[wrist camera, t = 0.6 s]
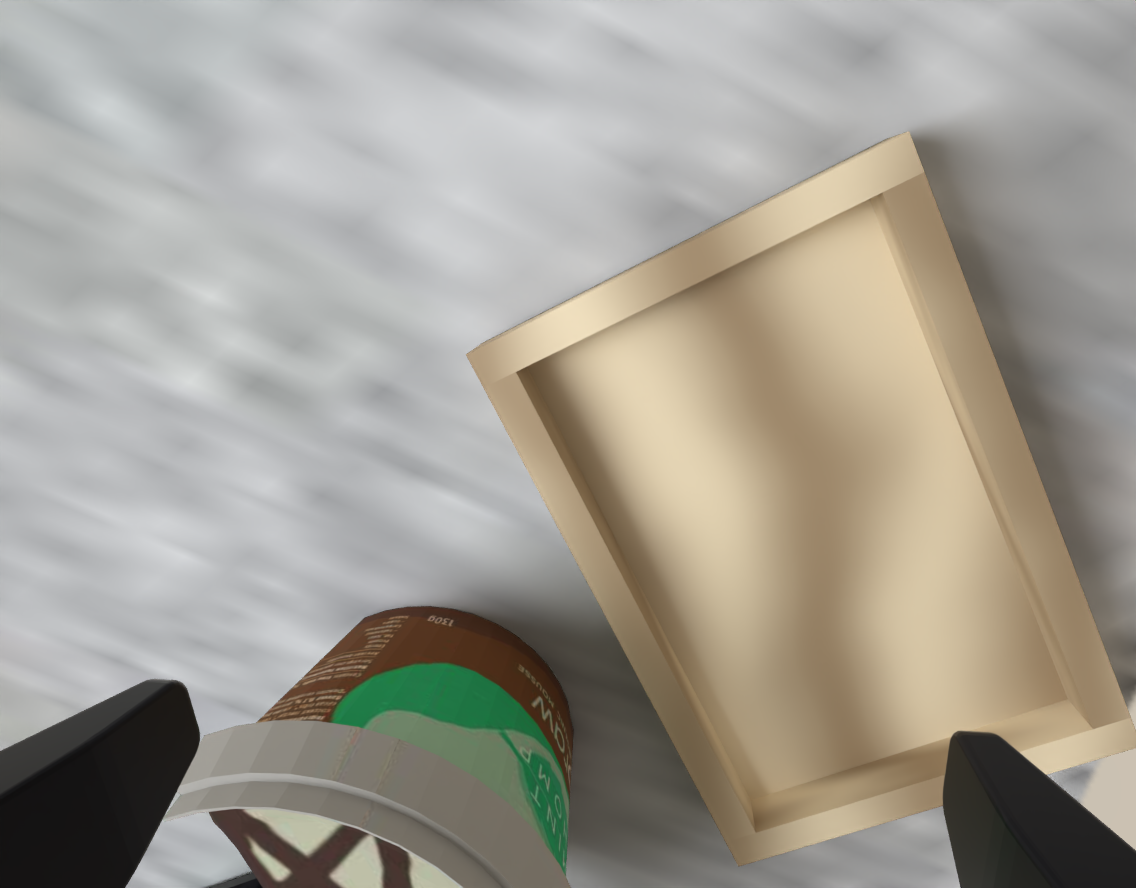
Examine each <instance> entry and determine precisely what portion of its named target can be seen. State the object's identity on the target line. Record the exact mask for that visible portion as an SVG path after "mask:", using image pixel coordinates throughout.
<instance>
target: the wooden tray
mask: <svg viewBox="0 0 1136 888" xmlns="http://www.w3.org/2000/svg"><path fill="white" fill-rule="evenodd" d="M466 356H467V358H468V360H469V361H470V363H471V365H472V367H473V369H474V371H475V373H476V375H477V376H478V378H479V380H480V382H481V384H482V386H483V388H484V390H485V391H486V393H487V395H488V397H489V399H490V401H491V403H492V405H493V406H494V408H495V410H496V412H497V414H498V416H499V418H500V420H501V421H502V423H503V425H504V427H505V429H506V431H507V433H508V435H509V436H510V438H511V440H512V442H513V444H514V446H515V448H516V450H517V451H518V453H519V455H520V457H521V459H522V461H523V463H524V465H525V467H526V468H527V470H528V472H529V474H530V476H531V478H532V480H533V482H534V483H535V485H536V487H537V489H538V491H539V493H540V495H541V497H542V498H543V500H544V502H545V504H546V506H547V508H548V510H549V512H550V513H551V515H552V517H553V519H554V521H555V523H556V525H557V527H558V528H559V530H560V532H561V534H562V536H563V538H564V540H565V542H566V543H567V545H568V547H569V549H570V551H571V553H572V555H573V557H574V558H575V560H576V562H577V564H578V566H579V568H580V570H581V572H582V574H583V575H584V577H585V579H586V581H587V583H588V585H589V587H590V589H591V590H592V592H593V594H594V596H595V598H596V600H597V602H598V604H599V605H600V607H601V609H602V611H603V613H604V615H605V617H606V619H607V620H608V622H609V624H610V626H611V628H612V630H613V632H614V634H615V635H616V637H617V639H618V641H619V643H620V645H621V647H622V649H623V650H624V652H625V654H626V656H627V658H628V660H629V662H630V664H631V665H632V667H633V669H634V671H635V673H636V675H637V677H638V679H639V681H640V682H641V684H642V686H643V688H644V690H645V692H646V694H647V696H648V697H649V699H650V701H651V703H652V705H653V707H654V709H655V711H656V712H657V714H658V716H659V718H660V720H661V722H662V724H663V726H664V727H665V729H666V731H667V733H668V735H669V737H670V739H671V741H672V742H673V744H674V746H675V748H676V750H677V752H678V754H679V756H680V757H681V759H682V761H683V763H684V765H685V767H686V769H687V771H688V772H689V774H690V776H691V778H692V780H693V782H694V784H695V786H696V788H697V789H698V791H699V793H700V795H701V797H702V799H703V801H704V803H705V804H706V806H707V808H708V810H709V812H710V814H711V816H712V818H713V819H714V821H715V823H716V825H717V827H718V829H719V831H720V833H721V834H722V836H723V838H724V840H725V842H726V844H727V846H728V848H729V849H730V851H731V853H732V855H733V857H734V859H735V861H736V863H737V864H738V866H742V865H746V864H749V863H752V862H756V861H759V860H762V859H766V858H769V857H772V856H776V855H779V854H783V853H786V852H789V851H793V850H796V849H799V848H803V847H806V846H809V845H813V844H816V843H819V842H823V841H826V840H829V839H833V838H836V837H839V836H843V835H846V834H850V833H853V832H856V831H860V830H863V829H866V828H870V827H873V826H876V825H880V824H883V823H886V822H890V821H893V820H896V819H900V818H903V817H907V816H910V815H913V814H917V813H920V812H923V811H927V810H930V809H933V808H937V807H940V806H943V784H944V777H945V770H946V763H947V756H948V749H949V743H950V739H951V737H952V735H953V733H955V732H957V731H960V730H962V731H978V732H991V733H995V734H997V735H999V736H1000V737H1002V738H1003V739H1004V740H1005V741H1007V742H1008V743H1009V744H1010V745H1011V746H1013V747H1014V748H1015V749H1016V750H1017V751H1018V752H1020V753H1021V754H1022V755H1023V756H1024V757H1026V758H1027V759H1028V760H1029V761H1030V762H1031V763H1033V764H1034V765H1035V766H1036V767H1037V768H1039V769H1040V770H1041V771H1042V772H1043V773H1045V774H1046V775H1047V774H1051V773H1054V772H1057V771H1061V770H1064V769H1067V768H1071V767H1074V766H1077V765H1081V764H1084V763H1087V762H1091V761H1094V760H1098V759H1101V758H1104V757H1108V756H1111V755H1114V754H1118V753H1121V752H1124V751H1128V750H1131V749H1134V748H1136V730H1135V727H1134V724H1133V722H1132V719H1131V716H1130V714H1129V711H1128V709H1127V706H1126V703H1125V701H1124V698H1123V695H1122V693H1121V690H1120V687H1119V685H1118V682H1117V679H1116V677H1115V674H1114V672H1113V669H1112V666H1111V664H1110V661H1109V658H1108V656H1107V653H1106V650H1105V648H1104V645H1103V642H1102V640H1101V637H1100V635H1099V632H1098V629H1097V627H1096V624H1095V621H1094V619H1093V616H1092V613H1091V611H1090V608H1089V605H1088V603H1087V600H1086V598H1085V595H1084V592H1083V590H1082V587H1081V584H1080V582H1079V579H1078V576H1077V574H1076V571H1075V568H1074V566H1073V563H1072V561H1071V558H1070V555H1069V553H1068V550H1067V547H1066V545H1065V542H1064V539H1063V537H1062V534H1061V531H1060V529H1059V526H1058V524H1057V521H1056V518H1055V516H1054V513H1053V510H1052V508H1051V505H1050V502H1049V500H1048V497H1047V494H1046V492H1045V489H1044V487H1043V484H1042V481H1041V479H1040V476H1039V473H1038V471H1037V468H1036V465H1035V463H1034V460H1033V457H1032V455H1031V452H1030V450H1029V447H1028V444H1027V442H1026V439H1025V436H1024V434H1023V431H1022V428H1021V426H1020V423H1019V420H1018V418H1017V415H1016V412H1015V410H1014V407H1013V405H1012V402H1011V399H1010V397H1009V394H1008V391H1007V389H1006V386H1005V383H1004V381H1003V378H1002V375H1001V373H1000V370H999V368H998V365H997V362H996V360H995V357H994V354H993V352H992V349H991V346H990V344H989V341H988V338H987V336H986V333H985V331H984V328H983V325H982V323H981V320H980V317H979V315H978V312H977V309H976V307H975V304H974V301H973V299H972V296H971V294H970V291H969V288H968V286H967V283H966V280H965V278H964V275H963V272H962V270H961V267H960V264H959V262H958V259H957V257H956V254H955V251H954V249H953V246H952V243H951V241H950V238H949V235H948V233H947V230H946V227H945V225H944V222H943V220H942V217H941V214H940V212H939V209H938V206H937V204H936V201H935V198H934V196H933V193H932V190H931V188H930V185H929V183H928V180H927V177H926V175H925V172H924V169H923V167H922V164H921V161H920V159H919V156H918V153H917V151H916V148H915V146H914V143H913V140H912V138H911V135H910V132H909V131H908V132H906V133H903V134H900V135H897V136H894V137H891V138H888V139H885V140H883V141H881V142H879V143H877V144H876V145H874V146H872V147H870V148H868V149H866V150H864V151H862V152H860V153H858V154H856V155H854V156H852V157H850V158H848V159H846V160H844V161H842V162H840V163H838V164H836V165H834V166H832V167H830V168H828V169H826V170H824V171H822V172H820V173H818V174H816V175H814V176H812V177H810V178H808V179H806V180H804V181H802V182H800V183H798V184H796V185H794V186H792V187H790V188H788V189H786V190H784V191H782V192H780V193H778V194H777V195H775V196H773V197H771V198H769V199H767V200H765V201H763V202H761V203H759V204H757V205H755V206H753V207H751V208H749V209H747V210H745V211H743V212H741V213H739V214H737V215H735V216H733V217H731V218H729V219H727V220H725V221H723V222H721V223H719V224H717V225H715V226H713V227H711V228H709V229H707V230H705V231H703V232H701V233H699V234H697V235H695V236H693V237H691V238H689V239H687V240H685V241H683V242H681V243H679V244H678V245H676V246H674V247H672V248H670V249H668V250H666V251H664V252H662V253H660V254H658V255H656V256H654V257H652V258H650V259H648V260H646V261H644V262H642V263H640V264H638V265H636V266H634V267H632V268H630V269H628V270H626V271H624V272H622V273H620V274H618V275H616V276H614V277H612V278H610V279H608V280H606V281H604V282H602V283H600V284H598V285H596V286H594V287H592V288H590V289H588V290H586V291H584V292H582V293H580V294H579V295H577V296H575V297H573V298H571V299H569V300H567V301H565V302H563V303H561V304H559V305H557V306H555V307H553V308H551V309H549V310H547V311H545V312H543V313H541V314H539V315H537V316H535V317H533V318H531V319H529V320H527V321H525V322H523V323H521V324H519V325H517V326H515V327H513V328H511V329H509V330H507V331H505V332H503V333H501V334H499V335H497V336H495V337H493V338H491V339H489V340H487V341H485V342H483V343H482V344H480V345H479V346H477V347H476V348H475V349H473V350H472V351H470V352H469V353H467V354H466Z"/></svg>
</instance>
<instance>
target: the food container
mask: <svg viewBox="0 0 1136 888" xmlns="http://www.w3.org/2000/svg"><path fill="white" fill-rule="evenodd" d="M572 748H573V726H572V721H571V716H570V711H569V707H568V702H567V699H566V697H565V695H564V692H563V690H562V688H561V686H560V683H559V682H558V680H557V679H556V677H555V676H554V674H553V673H552V671H551V670H550V668H549V667H548V665H547V664H546V663H545V662H544V661H543V660H542V658H541V657H540V656H539V655H538V654H537V653H536V652H535V651H534V650H533V649H532V648H531V647H530V646H528V645H527V644H526V643H525V642H523V641H522V640H521V639H520V638H518V637H517V636H516V635H514V634H513V633H511V632H509V631H508V630H506V629H504V628H503V627H501V626H499V625H498V624H496V623H493V622H491V621H489V620H486V619H484V618H481V617H479V616H477V615H474V614H470V613H466V612H462V611H458V610H455V609H449V608H440V607H432V606H421V607H404V608H398V609H392V610H386V611H383V612H380V613H377V614H374V615H371V616H368V617H365V618H364V619H363V620H362V621H361V622H360V623H358V624H357V625H356V626H355V627H354V628H353V629H352V630H351V631H350V632H349V633H348V634H347V635H346V636H345V637H344V638H343V639H342V640H341V641H340V642H339V643H338V644H337V645H336V646H335V647H334V648H333V649H332V650H331V651H330V652H329V653H328V654H327V655H326V656H324V657H323V658H322V659H321V660H320V661H319V662H318V663H317V664H316V665H315V666H314V667H313V668H312V669H311V670H310V671H309V672H308V673H307V674H306V675H305V676H304V677H303V678H302V679H301V680H300V681H299V682H298V683H297V684H296V685H295V686H294V687H293V688H292V689H290V690H289V691H288V692H287V693H286V694H285V695H284V696H283V697H282V698H281V699H280V700H279V701H278V702H277V703H276V704H275V705H274V706H273V707H272V708H271V709H270V710H269V711H268V712H267V713H266V714H265V715H264V716H263V717H262V718H261V719H260V720H259V721H257V722H256V723H253V724H246V725H239V726H234V727H231V728H228V729H224V730H221V731H218V732H214V733H211V734H208V735H204V737H203V739H202V741H201V742H200V744H199V747H198V750H197V753H196V755H195V757H194V759H193V761H192V763H191V765H190V767H189V769H188V771H187V773H186V774H185V776H184V778H183V780H182V782H181V784H180V786H179V788H178V790H177V791H178V793H179V794H180V796H179V798H178V799H177V800H176V802H175V803H174V804H173V806H172V807H171V808H170V810H169V811H168V812H167V814H166V815H165V816H164V818H163V821H164V822H167V821H170V820H174V819H178V818H182V817H185V816H189V815H193V814H196V813H204V812H209V814H210V816H211V818H212V820H213V822H214V823H215V824H216V825H217V826H218V827H219V828H220V829H221V830H222V831H223V832H224V833H225V835H226V836H227V837H228V838H229V839H230V841H231V842H232V843H233V844H234V845H235V846H236V848H237V849H238V850H239V852H240V854H241V855H242V857H243V858H244V860H245V861H246V863H247V864H248V866H249V867H250V869H251V870H252V872H253V874H254V875H255V877H256V878H257V880H258V881H259V883H260V884H261V886H262V887H263V888H571V887H570V885H569V883H568V881H567V879H566V859H567V841H568V822H569V804H570V785H571V767H572Z"/></svg>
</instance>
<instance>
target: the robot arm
mask: <svg viewBox="0 0 1136 888" xmlns="http://www.w3.org/2000/svg"><path fill="white" fill-rule="evenodd" d="M199 742H200V732H199V727H198V724H197V721H196V717H195V714H194V710H193V707H192V704H191V700H190V697H189V693H188V690H187V688H186V687H185V685H184V684H183V683H182V682H179V681H177V680H164V679H150V680H146V681H144V682H142V683H140V684H138V685H136V686H133V687H131V688H129V689H127V690H125V691H123V692H121V693H119V694H117V695H115V696H113V697H111V698H109V699H107V700H105V701H103V702H101V703H98V704H96V705H94V706H92V707H90V708H88V709H86V710H84V711H82V712H80V713H78V714H76V715H74V716H72V717H70V718H68V719H66V720H63V721H61V722H59V723H57V724H55V725H53V726H51V727H49V728H47V729H45V730H43V731H41V732H39V733H37V734H35V735H33V736H31V737H28V738H26V739H24V740H22V741H20V742H18V743H16V744H14V745H12V746H10V747H8V748H6V749H4V750H2V751H0V888H125V887H126V885H127V884H128V882H129V880H130V879H131V877H132V875H133V874H134V872H135V870H136V869H137V867H138V865H139V863H140V861H141V859H142V857H143V856H144V854H145V852H146V850H147V848H148V846H149V844H150V842H151V840H152V839H153V837H154V835H155V833H156V831H157V829H158V827H159V825H160V823H161V821H162V819H163V817H164V815H165V813H166V811H167V809H168V807H169V806H170V804H171V802H172V800H173V798H174V796H175V794H176V792H177V790H178V788H179V786H180V784H181V782H182V780H183V778H184V776H185V774H186V773H187V771H188V769H189V767H190V765H191V763H192V761H193V759H194V757H195V755H196V753H197V750H198V747H199ZM943 809H944V815H945V820H946V824H947V829H948V833H949V838H950V842H951V847H952V851H953V856H954V860H955V865H956V869H957V873H958V878H959V882H960V887H961V888H1136V850H1135V849H1133V848H1132V847H1131V846H1130V845H1129V844H1127V843H1126V842H1125V841H1124V840H1123V839H1122V838H1120V837H1119V836H1118V835H1117V834H1116V833H1114V832H1113V831H1112V830H1111V829H1110V828H1108V827H1107V826H1106V825H1105V824H1104V823H1102V822H1101V821H1100V820H1099V819H1098V818H1097V817H1095V816H1094V815H1093V814H1092V813H1091V812H1089V811H1088V810H1087V809H1086V808H1085V807H1084V806H1082V805H1081V804H1080V803H1079V802H1078V801H1077V800H1075V799H1074V798H1073V797H1072V796H1071V795H1069V794H1068V793H1067V792H1066V791H1065V790H1063V789H1062V788H1061V787H1060V786H1059V785H1058V784H1056V783H1055V782H1054V781H1053V780H1052V779H1050V778H1049V777H1048V776H1047V775H1046V774H1045V773H1043V772H1042V771H1041V770H1040V769H1039V768H1037V767H1036V766H1035V765H1034V764H1033V763H1031V762H1030V761H1029V760H1028V759H1027V758H1026V757H1024V756H1023V755H1022V754H1021V753H1020V752H1018V751H1017V750H1016V749H1015V748H1014V747H1013V746H1011V745H1010V744H1009V743H1008V742H1007V741H1005V740H1004V739H1003V738H1002V737H1000V736H999V735H997V734H995V733H991V732H978V731H962V730H960V731H957V732H955V733H953V735H952V737H951V739H950V743H949V749H948V756H947V763H946V770H945V777H944V784H943ZM211 888H263V887H262V886H261V884H260V883H259V881H258V880H257V878H256V877H255V875H254V874H253V873H251V874H248V875H245V876H242V877H239V878H236V879H233V880H231V881H228V882H225V883H222V884H219V885H216V886H213V887H211Z"/></svg>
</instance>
